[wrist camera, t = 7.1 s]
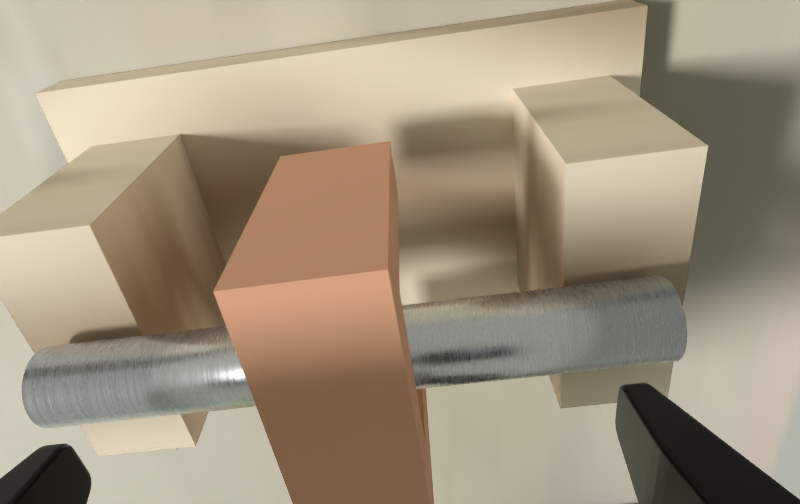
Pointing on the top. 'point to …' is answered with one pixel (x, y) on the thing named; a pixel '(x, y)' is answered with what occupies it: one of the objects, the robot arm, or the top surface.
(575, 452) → the top surface
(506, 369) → the silver metal cylindrical rod
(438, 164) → the cream rod stand
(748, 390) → the top surface
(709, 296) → the top surface
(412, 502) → the pink block
